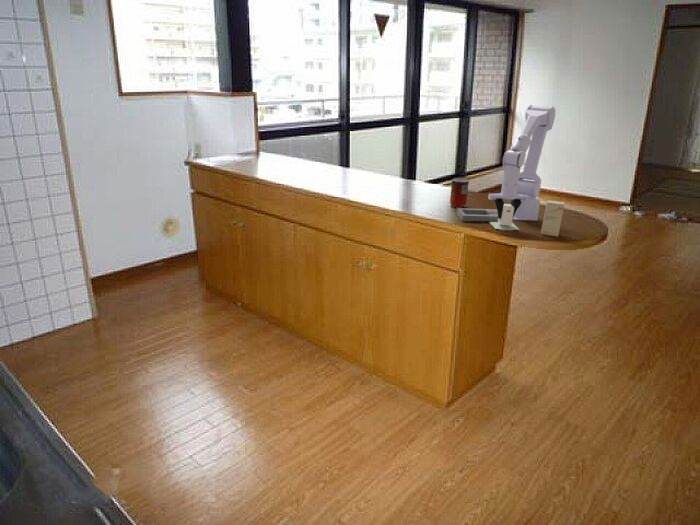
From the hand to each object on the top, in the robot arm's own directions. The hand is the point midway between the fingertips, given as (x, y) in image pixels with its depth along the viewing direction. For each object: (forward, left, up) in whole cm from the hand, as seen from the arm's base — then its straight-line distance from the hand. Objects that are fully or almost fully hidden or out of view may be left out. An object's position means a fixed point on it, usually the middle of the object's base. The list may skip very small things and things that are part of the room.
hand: (505, 218), depth 195 cm
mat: (0, 0, -3) cm, 3 cm away
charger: (0, 0, -2) cm, 2 cm away
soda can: (+12, -29, -4) cm, 32 cm away
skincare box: (-15, +8, -4) cm, 17 cm away
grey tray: (+6, -11, -3) cm, 13 cm away
